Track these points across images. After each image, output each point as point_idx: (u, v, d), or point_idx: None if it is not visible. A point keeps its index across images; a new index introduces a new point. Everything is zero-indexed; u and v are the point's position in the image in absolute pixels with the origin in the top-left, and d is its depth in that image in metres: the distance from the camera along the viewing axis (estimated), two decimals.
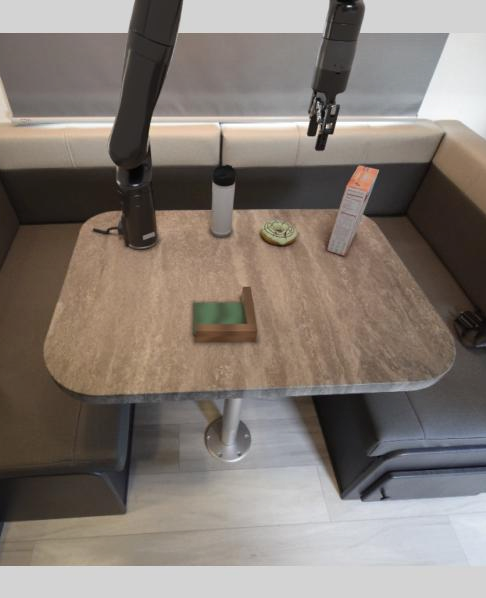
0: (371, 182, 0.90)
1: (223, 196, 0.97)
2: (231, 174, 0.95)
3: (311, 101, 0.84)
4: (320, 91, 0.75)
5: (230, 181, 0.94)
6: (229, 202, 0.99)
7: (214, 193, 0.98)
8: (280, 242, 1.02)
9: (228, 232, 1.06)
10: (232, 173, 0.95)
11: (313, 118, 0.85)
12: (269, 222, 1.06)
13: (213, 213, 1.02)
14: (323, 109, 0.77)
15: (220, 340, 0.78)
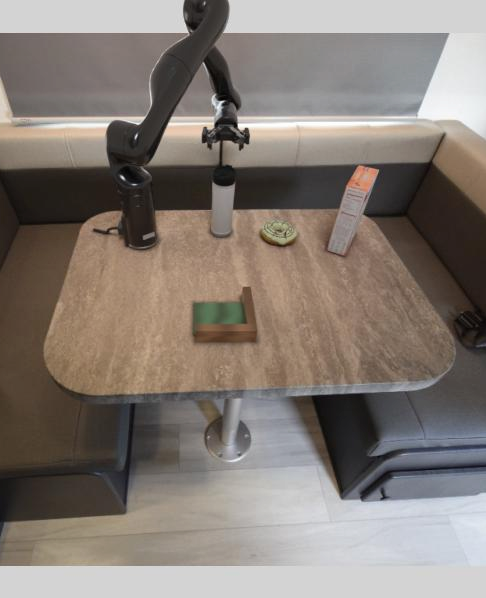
0: (371, 182, 0.90)
1: (223, 196, 0.97)
2: (231, 174, 0.95)
3: (205, 131, 1.04)
4: (235, 121, 1.06)
5: (230, 181, 0.94)
6: (229, 202, 0.99)
7: (214, 193, 0.98)
8: (280, 242, 1.02)
9: (228, 232, 1.06)
10: (232, 173, 0.95)
11: (211, 138, 1.03)
12: (269, 222, 1.06)
13: (213, 213, 1.02)
14: (237, 130, 1.05)
15: (220, 340, 0.78)
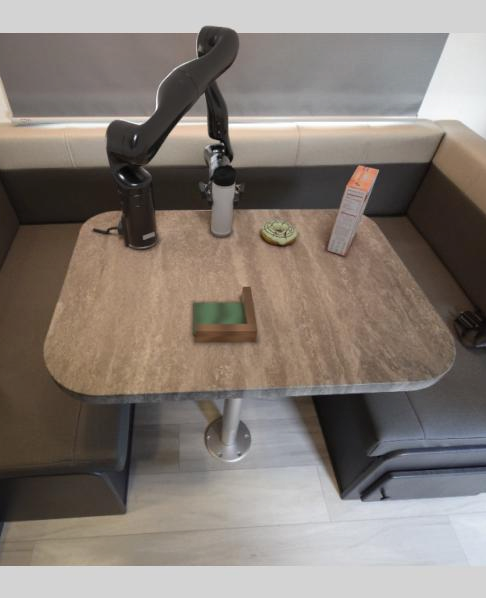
0: (371, 182, 0.90)
1: (223, 196, 0.97)
2: (231, 174, 0.95)
3: (203, 186, 1.03)
4: None
5: (230, 181, 0.94)
6: (229, 202, 0.99)
7: (214, 193, 0.98)
8: (280, 242, 1.02)
9: (228, 232, 1.06)
10: (232, 173, 0.95)
11: None
12: (269, 222, 1.06)
13: (213, 213, 1.02)
14: None
15: (220, 340, 0.78)
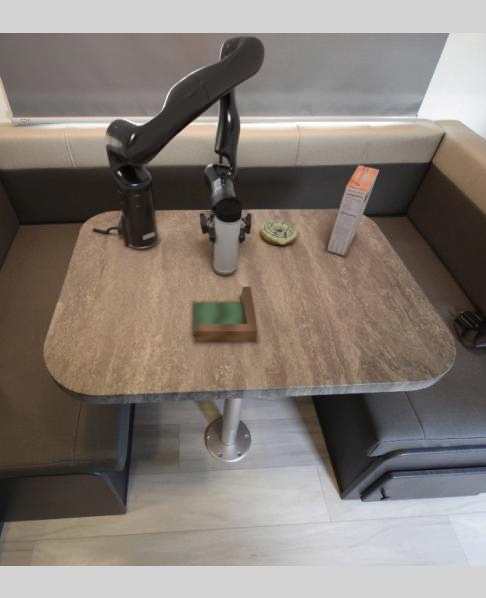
0: (371, 182, 0.90)
1: (228, 233, 0.84)
2: (237, 208, 0.82)
3: (204, 219, 0.91)
4: None
5: (236, 217, 0.81)
6: (235, 239, 0.86)
7: (217, 229, 0.85)
8: (280, 242, 1.02)
9: (233, 270, 0.94)
10: (238, 207, 0.82)
11: None
12: (269, 222, 1.06)
13: (215, 250, 0.90)
14: None
15: (220, 340, 0.78)
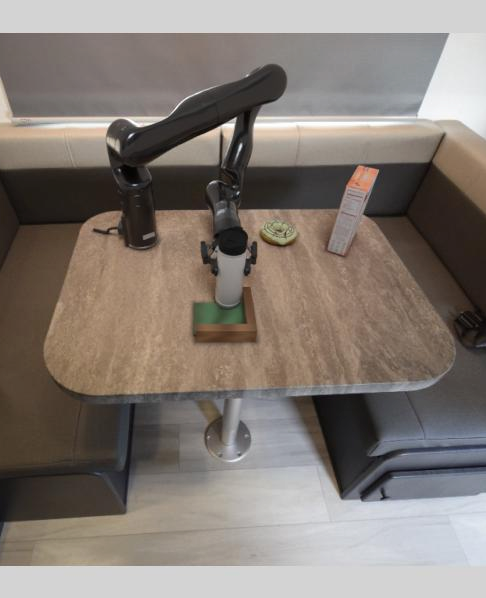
0: (371, 182, 0.90)
1: (232, 267, 0.75)
2: (242, 240, 0.73)
3: (205, 248, 0.82)
4: None
5: (241, 250, 0.73)
6: (239, 272, 0.77)
7: (219, 262, 0.76)
8: (280, 242, 1.02)
9: (237, 303, 0.85)
10: (243, 238, 0.73)
11: None
12: (269, 222, 1.06)
13: (218, 283, 0.81)
14: None
15: (220, 340, 0.78)
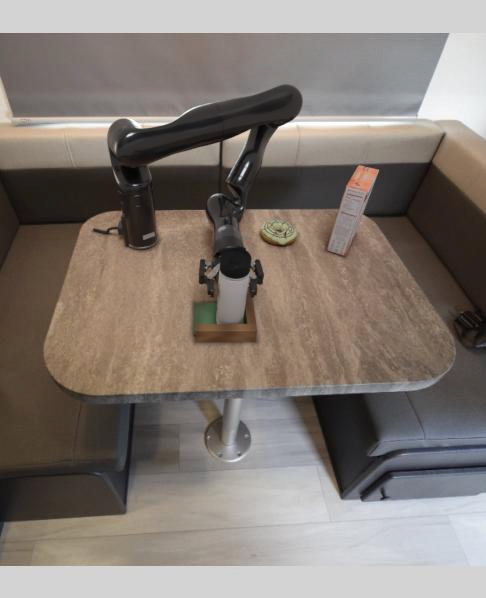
0: (371, 182, 0.90)
1: (234, 290, 0.70)
2: (245, 262, 0.68)
3: (203, 267, 0.77)
4: None
5: (244, 272, 0.68)
6: (242, 295, 0.72)
7: (221, 284, 0.71)
8: (280, 242, 1.02)
9: None
10: (246, 260, 0.69)
11: None
12: (269, 222, 1.06)
13: (219, 306, 0.76)
14: None
15: (220, 340, 0.78)
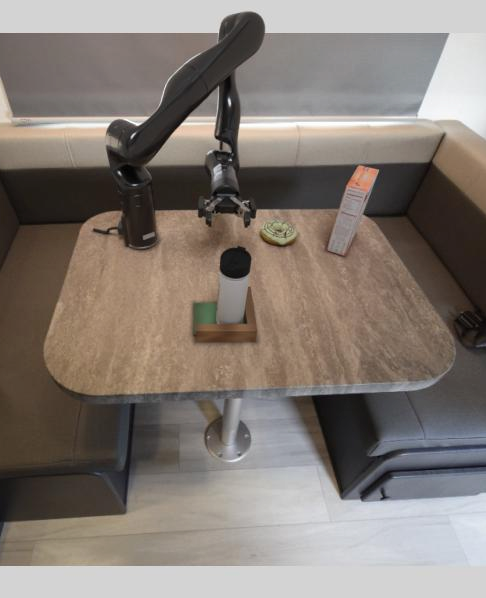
0: (371, 182, 0.90)
1: (234, 290, 0.70)
2: (245, 262, 0.68)
3: (202, 202, 0.86)
4: (237, 190, 0.88)
5: (244, 272, 0.68)
6: (242, 295, 0.72)
7: (221, 284, 0.71)
8: (280, 242, 1.02)
9: None
10: (246, 260, 0.69)
11: (210, 212, 0.84)
12: (269, 222, 1.06)
13: (219, 306, 0.76)
14: (240, 201, 0.87)
15: (220, 340, 0.78)
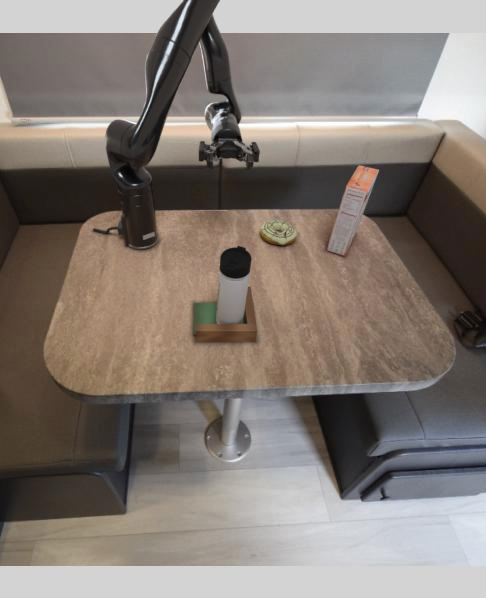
0: (371, 182, 0.90)
1: (234, 290, 0.70)
2: (245, 262, 0.68)
3: (202, 146, 0.83)
4: (239, 134, 0.85)
5: (244, 272, 0.68)
6: (242, 295, 0.72)
7: (221, 284, 0.71)
8: (280, 242, 1.02)
9: None
10: (246, 260, 0.69)
11: None
12: (269, 222, 1.06)
13: (219, 306, 0.76)
14: (242, 145, 0.84)
15: (220, 340, 0.78)
